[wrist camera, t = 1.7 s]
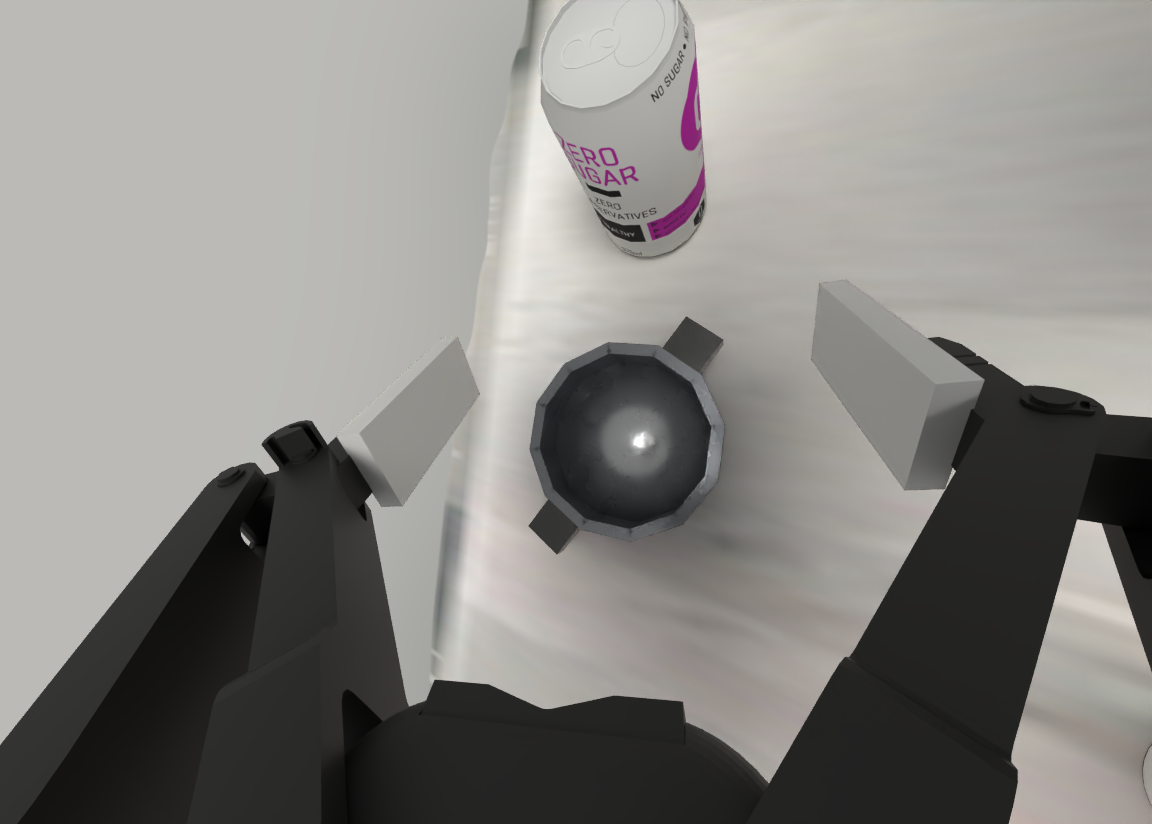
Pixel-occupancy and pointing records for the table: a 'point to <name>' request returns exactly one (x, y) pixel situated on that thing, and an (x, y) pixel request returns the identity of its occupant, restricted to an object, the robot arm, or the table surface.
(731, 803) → the robot arm
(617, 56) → the supplement can
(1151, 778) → the cylindrical container
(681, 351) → the cooker pot
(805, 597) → the table surface
